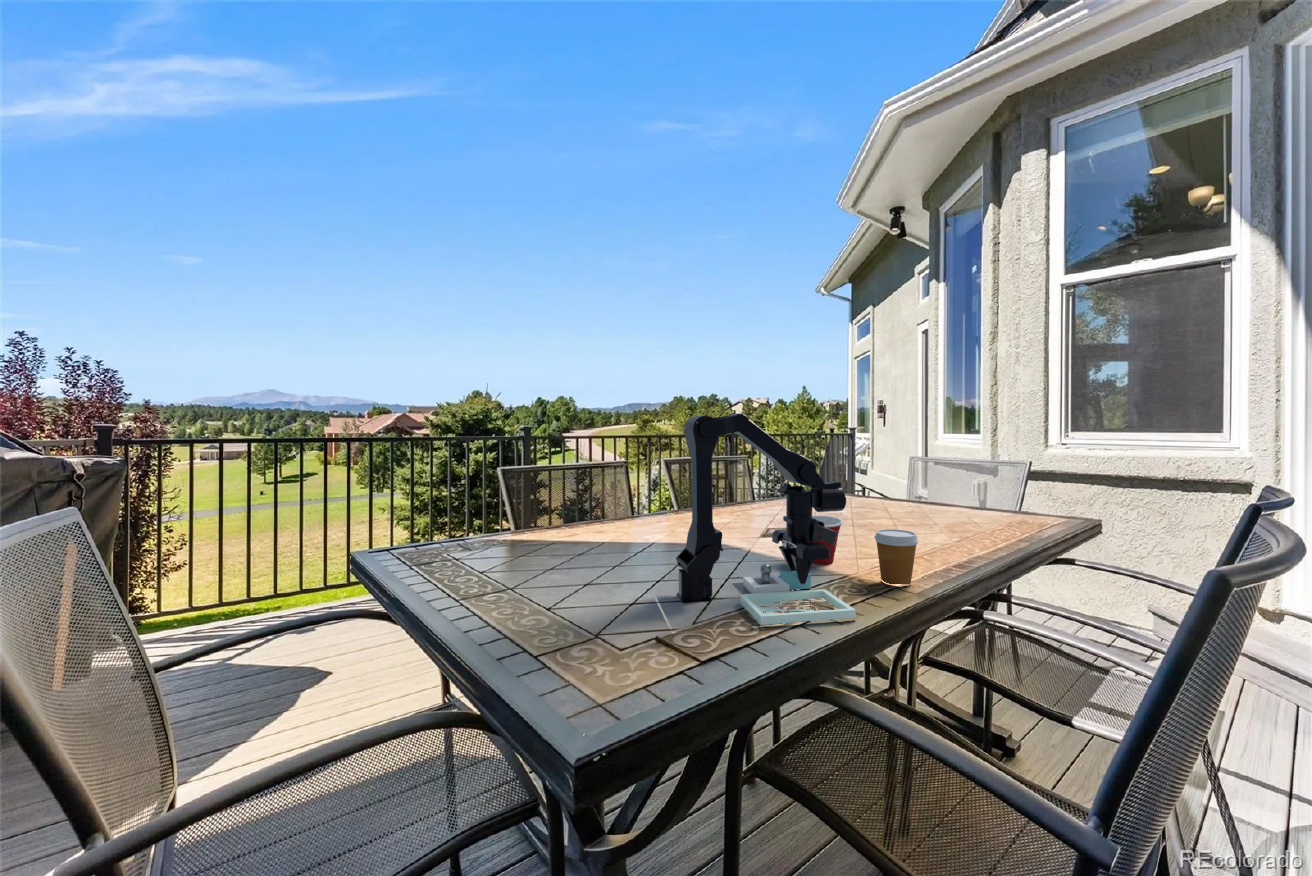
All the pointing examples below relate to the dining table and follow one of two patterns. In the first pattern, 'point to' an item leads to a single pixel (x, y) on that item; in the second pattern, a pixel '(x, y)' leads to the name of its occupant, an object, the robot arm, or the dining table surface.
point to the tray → (772, 618)
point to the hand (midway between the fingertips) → (799, 581)
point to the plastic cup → (831, 524)
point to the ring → (776, 583)
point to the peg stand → (765, 579)
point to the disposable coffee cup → (896, 555)
